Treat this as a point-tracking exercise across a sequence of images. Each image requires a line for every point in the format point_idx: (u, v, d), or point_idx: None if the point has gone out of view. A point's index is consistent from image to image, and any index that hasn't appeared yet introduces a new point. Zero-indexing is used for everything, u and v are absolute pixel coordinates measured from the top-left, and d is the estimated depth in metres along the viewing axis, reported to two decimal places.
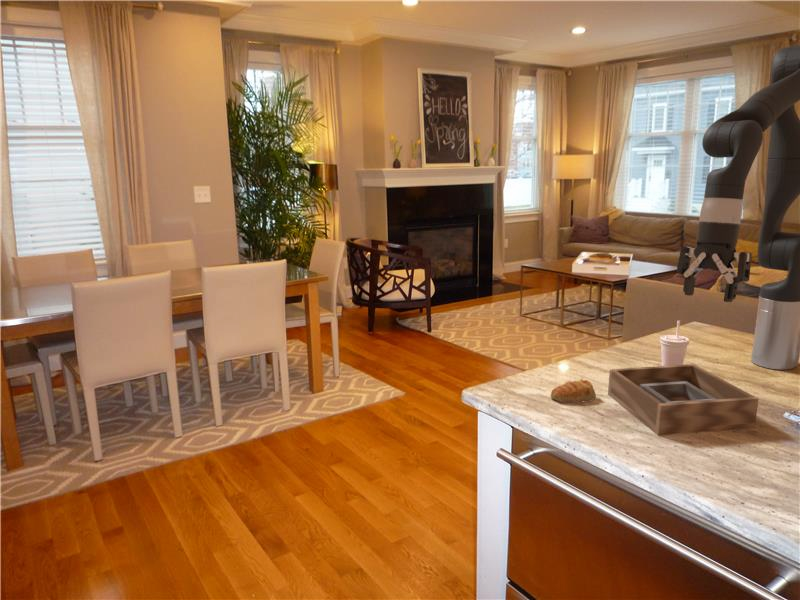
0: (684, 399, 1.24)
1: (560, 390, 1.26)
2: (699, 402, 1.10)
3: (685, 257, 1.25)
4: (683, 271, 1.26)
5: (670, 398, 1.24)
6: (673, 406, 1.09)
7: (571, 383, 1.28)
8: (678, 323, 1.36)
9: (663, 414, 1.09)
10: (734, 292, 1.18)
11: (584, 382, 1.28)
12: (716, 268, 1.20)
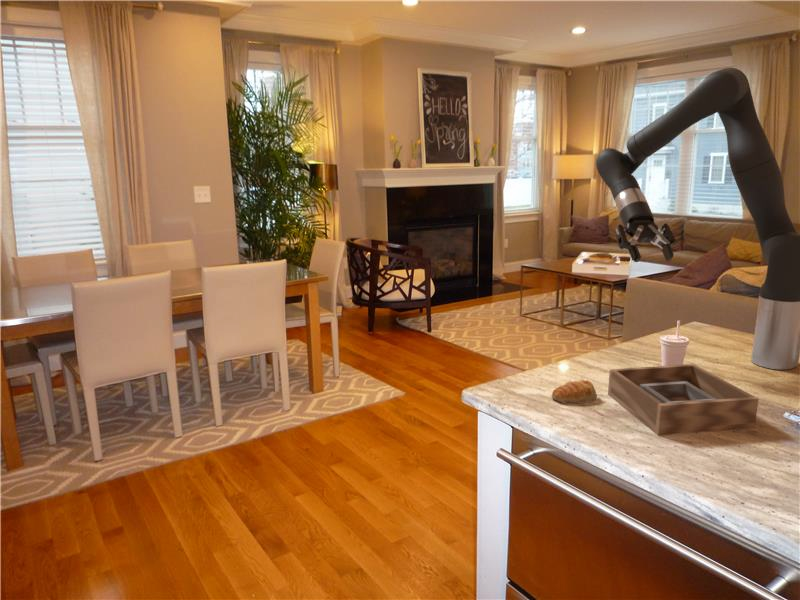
0: (684, 399, 1.24)
1: (561, 390, 1.26)
2: (699, 402, 1.10)
3: None
4: None
5: (670, 398, 1.24)
6: (673, 406, 1.09)
7: (572, 383, 1.27)
8: (678, 323, 1.36)
9: (663, 414, 1.09)
10: (631, 253, 1.45)
11: (585, 382, 1.28)
12: None
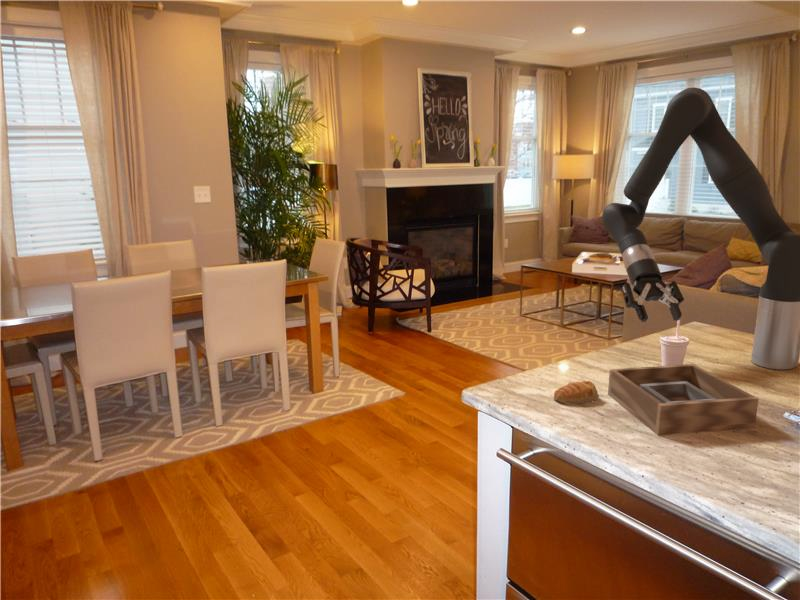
0: (684, 399, 1.24)
1: (563, 391, 1.25)
2: (699, 402, 1.10)
3: (670, 293, 1.48)
4: None
5: (670, 398, 1.24)
6: (673, 406, 1.09)
7: (574, 384, 1.27)
8: (678, 323, 1.36)
9: (663, 414, 1.09)
10: (638, 313, 1.43)
11: (587, 383, 1.28)
12: None
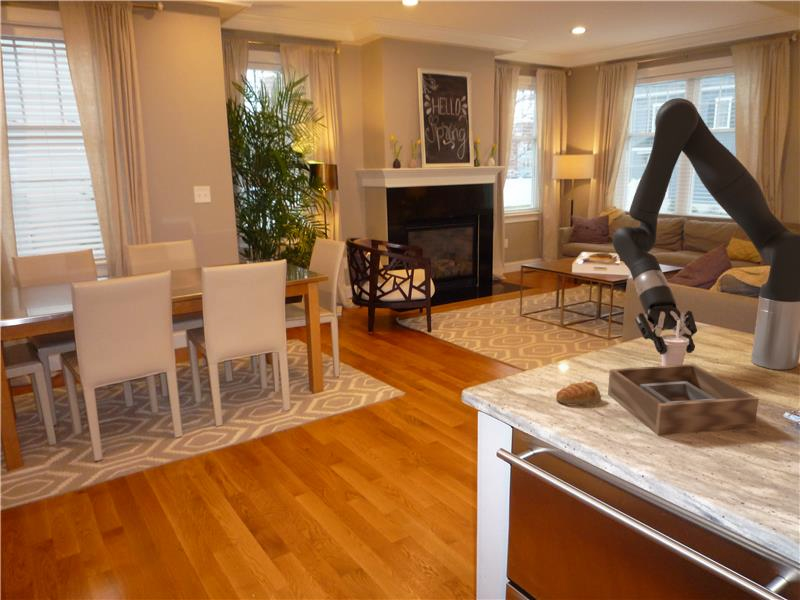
0: (684, 399, 1.24)
1: (566, 392, 1.25)
2: (699, 402, 1.10)
3: (685, 323, 1.42)
4: None
5: (670, 398, 1.24)
6: (673, 406, 1.09)
7: (576, 385, 1.26)
8: (678, 323, 1.36)
9: (663, 414, 1.09)
10: (656, 345, 1.37)
11: (589, 384, 1.27)
12: None
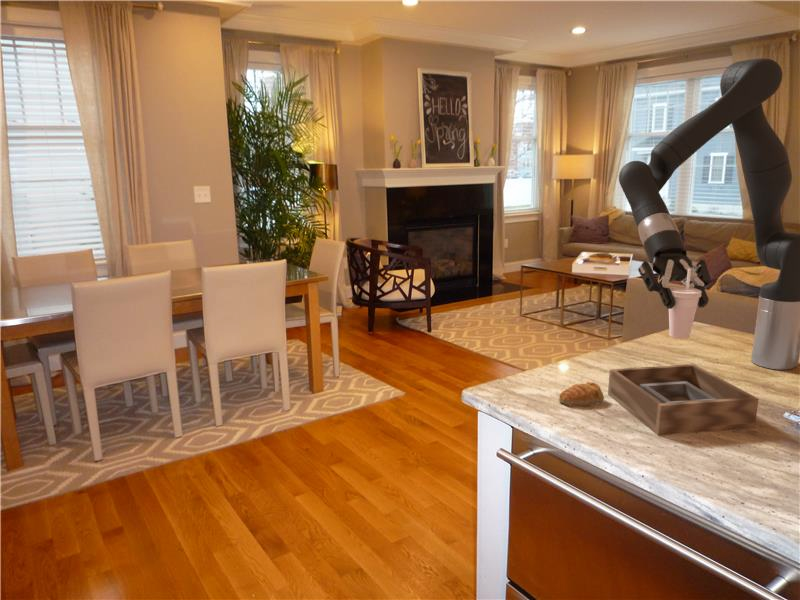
0: (684, 399, 1.24)
1: (569, 393, 1.24)
2: (699, 402, 1.10)
3: (696, 274, 1.21)
4: None
5: (670, 398, 1.24)
6: (673, 406, 1.09)
7: (579, 386, 1.26)
8: (688, 272, 1.15)
9: (663, 414, 1.09)
10: (663, 298, 1.16)
11: (591, 384, 1.27)
12: None
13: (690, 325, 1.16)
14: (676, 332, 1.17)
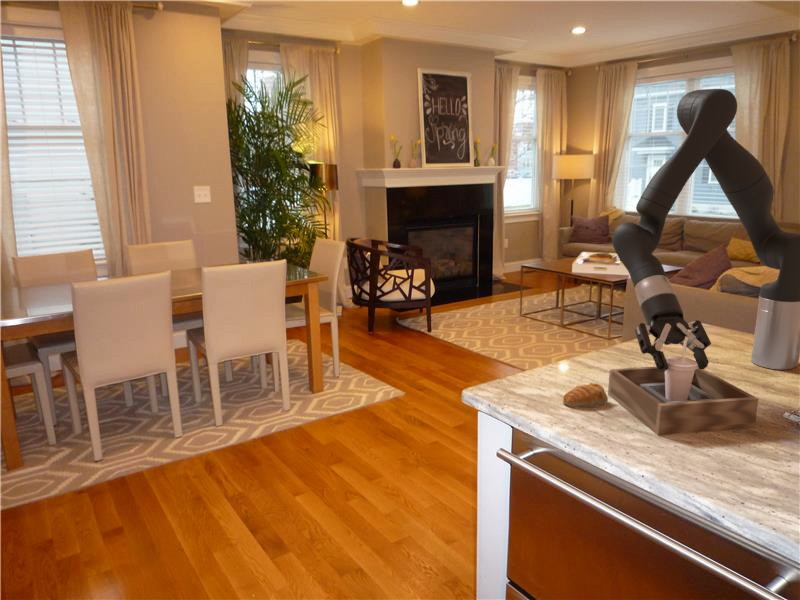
0: None
1: (573, 395, 1.23)
2: (699, 402, 1.10)
3: (694, 334, 1.23)
4: None
5: None
6: (673, 406, 1.09)
7: (582, 387, 1.25)
8: (684, 344, 1.17)
9: (663, 414, 1.09)
10: (656, 361, 1.18)
11: (595, 386, 1.26)
12: None
13: (686, 396, 1.18)
14: None
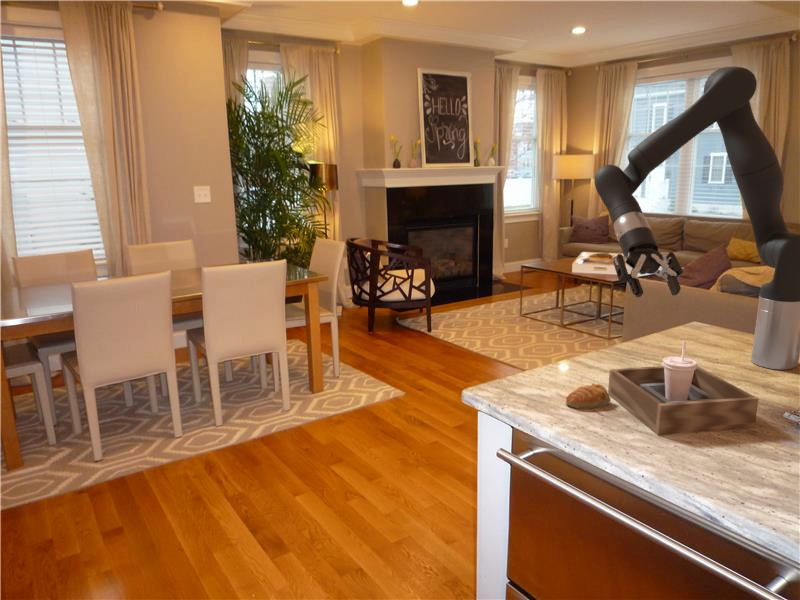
0: None
1: (576, 396, 1.23)
2: (699, 402, 1.10)
3: None
4: None
5: None
6: (673, 406, 1.09)
7: (585, 388, 1.25)
8: (684, 344, 1.17)
9: (663, 414, 1.09)
10: (632, 287, 1.27)
11: (597, 386, 1.25)
12: None
13: (686, 396, 1.18)
14: None
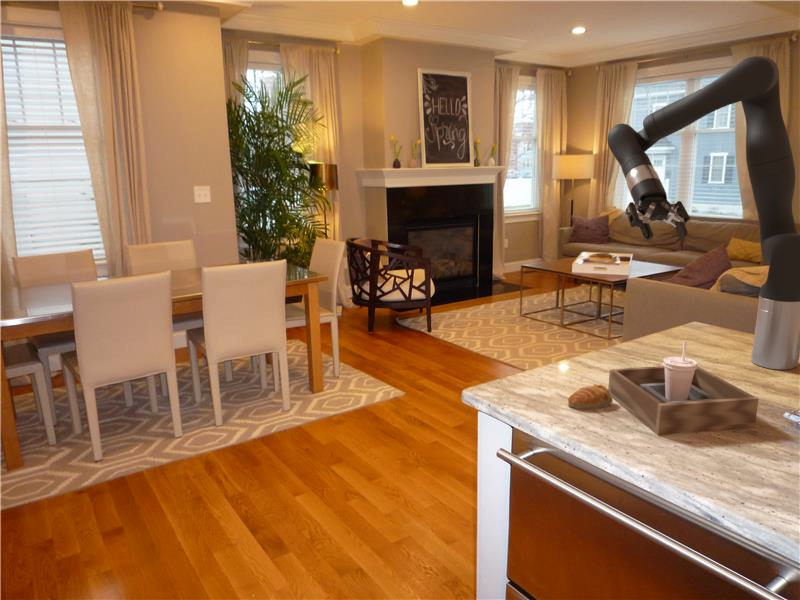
0: None
1: (579, 397, 1.22)
2: (699, 402, 1.10)
3: None
4: None
5: None
6: (673, 406, 1.09)
7: (587, 389, 1.24)
8: (684, 344, 1.17)
9: (663, 414, 1.09)
10: (643, 231, 1.39)
11: (599, 387, 1.25)
12: None
13: (686, 396, 1.18)
14: None
